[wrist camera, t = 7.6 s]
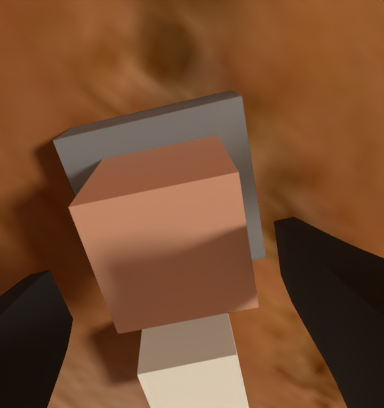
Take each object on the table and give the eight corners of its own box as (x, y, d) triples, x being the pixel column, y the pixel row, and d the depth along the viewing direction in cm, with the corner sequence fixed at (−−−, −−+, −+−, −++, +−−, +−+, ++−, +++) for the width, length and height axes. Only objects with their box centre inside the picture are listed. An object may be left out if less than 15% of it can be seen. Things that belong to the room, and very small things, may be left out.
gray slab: (252, 229, 19) (265, 257, 17) (121, 257, 20) (112, 290, 17) (229, 89, 16) (241, 96, 13) (72, 126, 16) (52, 140, 14)
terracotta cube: (234, 235, 16) (258, 307, 11) (133, 255, 16) (118, 333, 11) (217, 134, 14) (238, 171, 9) (102, 159, 14) (68, 207, 9)
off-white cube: (235, 345, 22) (251, 418, 18) (164, 359, 23) (162, 435, 18) (222, 288, 20) (236, 354, 16) (144, 304, 21) (136, 374, 16)
